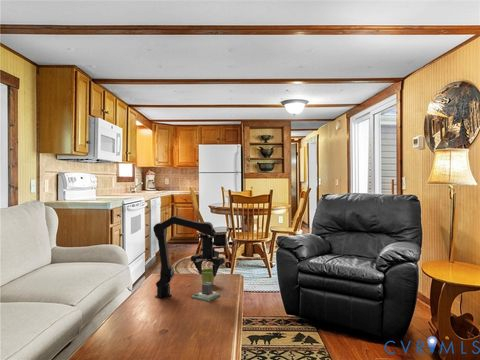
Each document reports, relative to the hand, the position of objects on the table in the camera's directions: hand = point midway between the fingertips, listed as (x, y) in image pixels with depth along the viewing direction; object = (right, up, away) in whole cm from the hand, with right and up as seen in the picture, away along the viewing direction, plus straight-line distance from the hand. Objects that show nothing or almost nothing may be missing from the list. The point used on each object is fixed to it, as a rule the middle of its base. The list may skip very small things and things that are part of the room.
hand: (207, 275), depth 186 cm
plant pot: (-2, -12, +21) cm, 24 cm away
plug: (0, -11, 0) cm, 11 cm away
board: (-1, -12, +1) cm, 12 cm away
